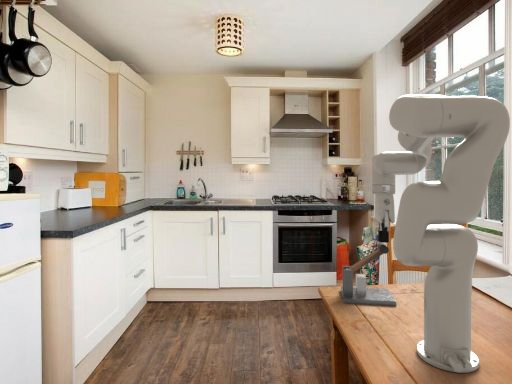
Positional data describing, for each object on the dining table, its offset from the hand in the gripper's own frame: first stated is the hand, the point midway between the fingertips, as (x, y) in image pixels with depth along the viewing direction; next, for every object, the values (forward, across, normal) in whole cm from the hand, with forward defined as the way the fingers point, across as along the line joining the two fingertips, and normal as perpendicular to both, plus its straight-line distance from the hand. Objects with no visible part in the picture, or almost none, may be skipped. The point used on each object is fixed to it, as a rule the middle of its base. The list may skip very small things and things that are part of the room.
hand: (383, 241), depth 110 cm
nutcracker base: (+20, 0, +6) cm, 21 cm away
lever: (+8, 0, +5) cm, 9 cm away
